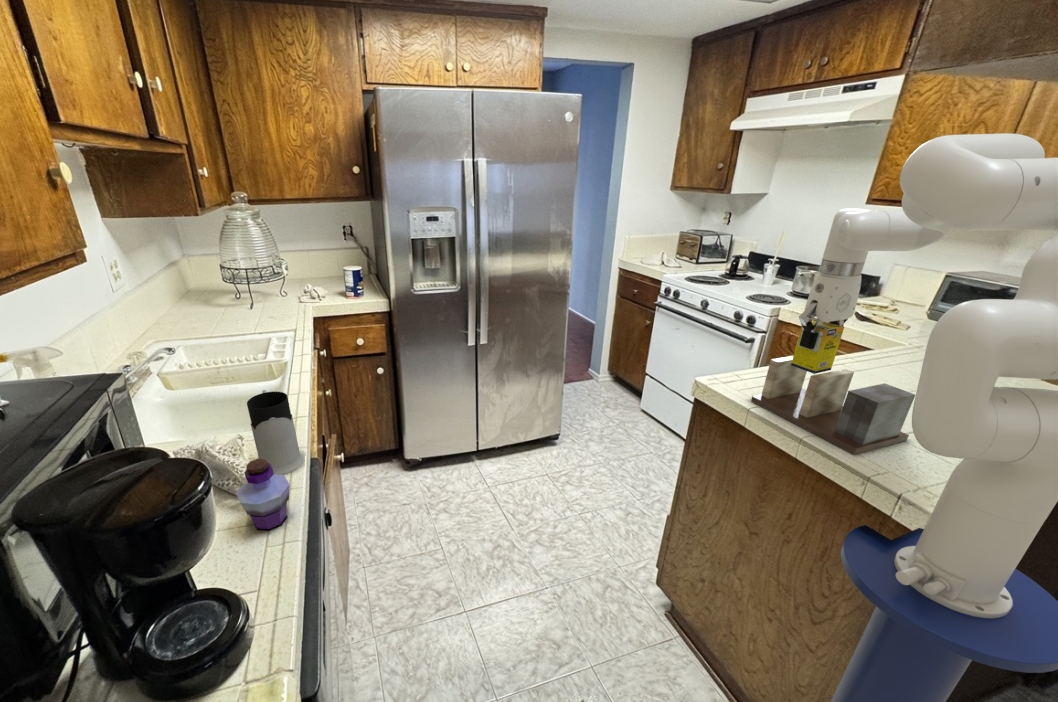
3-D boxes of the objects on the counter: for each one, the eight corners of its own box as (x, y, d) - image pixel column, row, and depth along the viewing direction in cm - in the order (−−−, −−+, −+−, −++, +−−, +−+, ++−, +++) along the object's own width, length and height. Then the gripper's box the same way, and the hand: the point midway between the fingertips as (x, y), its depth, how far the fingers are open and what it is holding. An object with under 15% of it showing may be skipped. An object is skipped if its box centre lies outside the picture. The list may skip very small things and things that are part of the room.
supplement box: (831, 370, 110) (845, 326, 106) (814, 374, 108) (827, 329, 104) (806, 361, 116) (819, 319, 111) (789, 365, 114) (801, 322, 109)
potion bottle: (298, 500, 87) (286, 445, 82) (294, 532, 79) (281, 473, 74) (248, 508, 85) (233, 453, 80) (239, 542, 77) (222, 483, 72)
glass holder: (261, 480, 93) (245, 414, 86) (254, 446, 104) (239, 386, 98) (306, 467, 96) (294, 403, 90) (295, 436, 108) (283, 377, 102)
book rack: (853, 454, 97) (872, 406, 93) (750, 401, 120) (761, 359, 115) (906, 440, 102) (926, 393, 97) (797, 391, 125) (809, 351, 120)
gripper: (828, 275, 97) (804, 355, 104) (886, 268, 101) (860, 346, 109) (795, 268, 103) (775, 344, 111) (851, 262, 108) (828, 336, 115)
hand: (817, 344), depth 110 cm, fingers closed on supplement box, 6 cm apart
